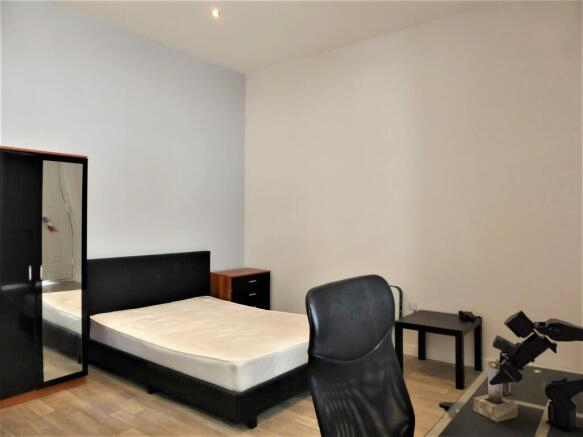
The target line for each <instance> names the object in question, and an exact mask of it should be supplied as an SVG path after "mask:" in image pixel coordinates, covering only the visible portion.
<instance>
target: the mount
mask: <svg viewBox="0 0 583 437" xmlns="http://www.w3.org/2000/svg"><path fill="white" fill-rule="evenodd" d="M472 400H473V411H475V412H476V413H477V414H481V415H482V416H484V417H486V418H489V419H490V420H492V421H494V422H496V423H499V422H504V421H506V420H511V419H515V418H517V417H518V416H519V414H518V413H519V412H518V411H519V410H518V408H519V406H518V403H517V402H514V401H512V400H509V399H507V398H504V397H503V396H502V404H493V403H491V402H489V401H488V394H485V395H484V394H483V395H480V396H476V397H475V396H474V397H473V399H472Z"/></svg>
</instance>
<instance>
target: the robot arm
mask: <svg viewBox="0 0 583 437" xmlns="http://www.w3.org/2000/svg"><path fill="white" fill-rule="evenodd" d="M503 325H504V326H505V327H506V328H508V329H509V331H511V332H512V333H513V335H514V336H515V337H517V339H518V338H519V339H520V338H522V339H524V340H522V341H521V342H519V341H518V342H515V343H513V342H512V341H510V340H508V339H506V338H504V337H503V336H500V335H498V334H497V335H496V336H495V338H494V340H493V342H491V343H492V347H493V348H495V349H497V350H499V351H500V352H499V359H500V360H499V361H498V362H500V363H501V364H500V370H499V371H498V373H497V374H496V375H495V376H494V377H493V378H492V379H491V380H490V382H489V383H490V385H497V384H503V383H510V382H511V383H517V384H518V383H519V382H521V381H522V380H523V371H524V370H525V368H526V366H528V365H529V364H530V363H532V364H533V363H535V362H536V359H537V358H538V357H540V356H541V355H542V354H544V353H545V352H546V351H548V350H549V349H550V351H552V353H554V354H557V351H558V350H557V349H558V348H557V346H558V344H557V343H558V342H560V343H561V342H563V343H565V342H566V343H569V342H570V343H571V342H583V326H580V325H576V324H574V323H571V322H569V321H566V320H565V321H564V320H563V319H559V318H549V319H547V320H546V321H533V320H531V318H530V317H528V315H527V314H526V313H525V312H524V311H523V310H521V309H520V310H519V311H518V312H516V313H514V314H512V315H510V316H508V317H507V319H505V321H504V322H503ZM541 384H542V389H543V391H544V395H545V397H546V398H547V399H548V400H550V401H548V405H547V420H545V423H546V425H547V424H548V425H549V426H553V427H555V428H556V429H559V430H561V431H563V432H567V433H568V432H571V431H574V430H577V429H580V428H581V426H580V425H578V424H577V404H576V402H575V399H574V398H575V397H576V396H578V395H579V394H581V393H583V374H580V375H579V374H578V375H574V376H572V375H571V376H570V375H566V374H565V372H564V371H559V372H556V373H548V376H547V377H545V378H543V381H542V383H541Z"/></svg>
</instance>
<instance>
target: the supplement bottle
mask: <svg viewBox="0 0 583 437" xmlns="http://www.w3.org/2000/svg"><path fill="white" fill-rule="evenodd" d="M499 360H500V358H499V359H496V360H495V361H496V362H498V361H499ZM511 391H512V382H510V383H503V384H502V396H509V395H511V393H512V392H511Z"/></svg>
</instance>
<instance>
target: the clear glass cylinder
mask: <svg viewBox="0 0 583 437" xmlns="http://www.w3.org/2000/svg"><path fill="white" fill-rule="evenodd" d="M486 364H487V385H488V386H487V393H488V394H487V395H488V401H489V402H491V403H493V404H502V397H503V395H502V384H497V385H490V383H489V382H490V380H491V379H492V378H493V377H494V376H495V375H496V374H497V373H498V371H499V370H500V364H501V363H500V362H496V360H490V361H487V363H486Z"/></svg>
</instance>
